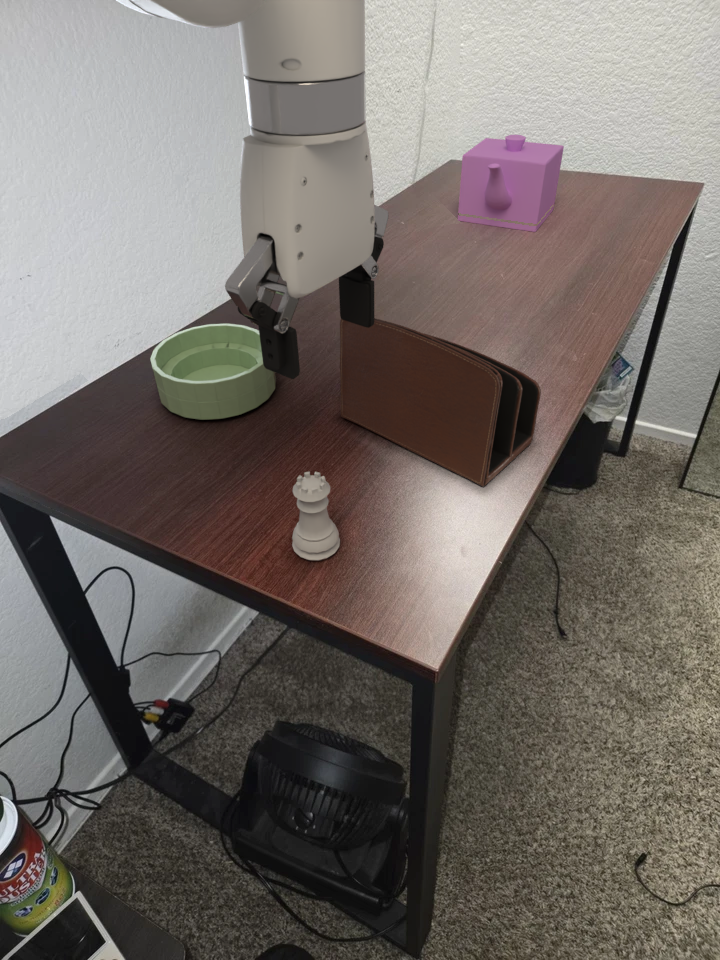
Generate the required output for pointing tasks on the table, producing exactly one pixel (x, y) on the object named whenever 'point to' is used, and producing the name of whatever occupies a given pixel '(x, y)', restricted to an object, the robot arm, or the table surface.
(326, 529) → the rook chess piece
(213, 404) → the bowl
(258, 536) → the table surface
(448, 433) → the letter holder
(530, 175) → the teapot
